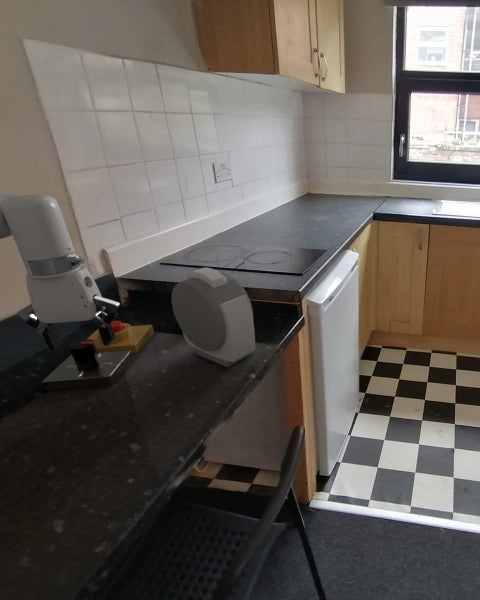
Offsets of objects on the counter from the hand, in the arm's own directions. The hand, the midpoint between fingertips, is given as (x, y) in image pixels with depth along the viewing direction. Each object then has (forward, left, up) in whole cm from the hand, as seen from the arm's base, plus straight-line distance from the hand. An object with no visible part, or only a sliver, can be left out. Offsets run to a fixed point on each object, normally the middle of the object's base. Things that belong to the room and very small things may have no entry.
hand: (83, 344), depth 81 cm
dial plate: (0, 0, -7) cm, 7 cm away
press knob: (0, +12, -3) cm, 12 cm away
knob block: (0, +12, -7) cm, 14 cm away
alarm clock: (+25, +3, -7) cm, 26 cm away
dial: (0, 0, -5) cm, 5 cm away
